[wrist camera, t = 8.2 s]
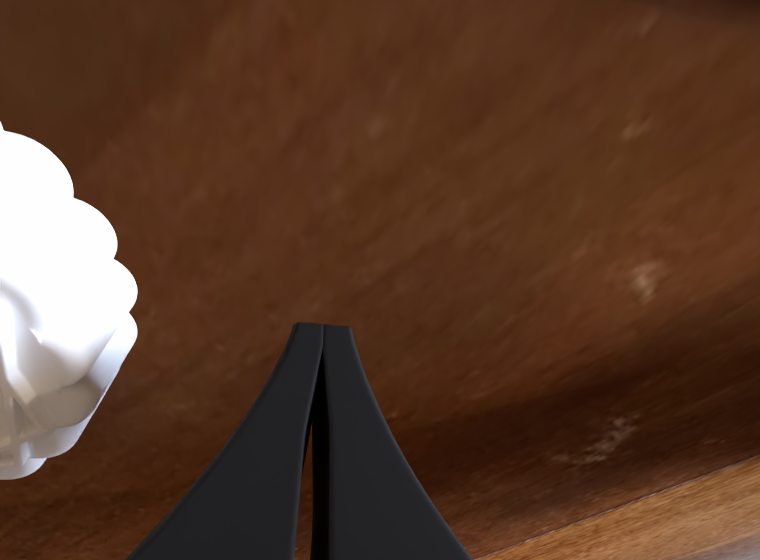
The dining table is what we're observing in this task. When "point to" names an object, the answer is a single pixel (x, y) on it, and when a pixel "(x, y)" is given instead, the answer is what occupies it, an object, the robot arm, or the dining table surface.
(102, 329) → the mooncake
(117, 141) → the dining table surface
